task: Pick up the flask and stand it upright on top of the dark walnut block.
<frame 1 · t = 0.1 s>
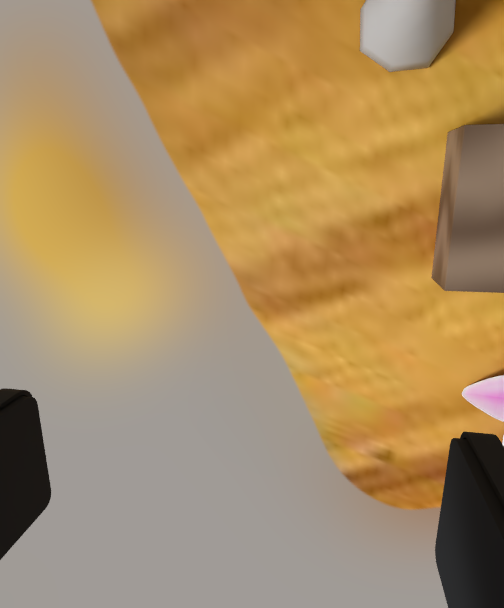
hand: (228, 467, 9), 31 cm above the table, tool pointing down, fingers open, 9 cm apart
flask: (405, 22, 33), on the table
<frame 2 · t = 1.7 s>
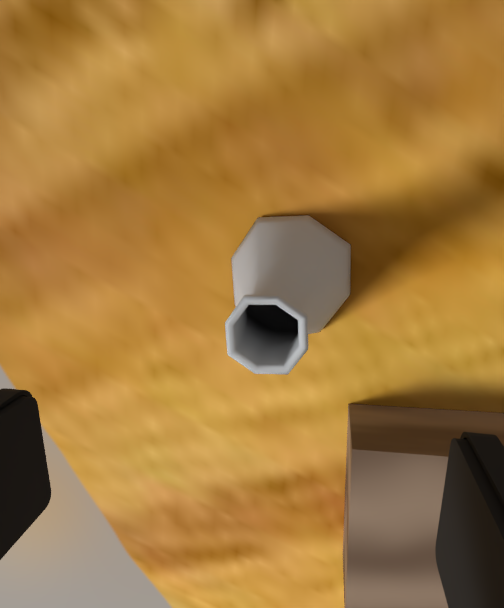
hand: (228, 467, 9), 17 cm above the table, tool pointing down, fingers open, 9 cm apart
flask: (290, 274, 25), on the table
walnut block: (439, 488, 28), on the table
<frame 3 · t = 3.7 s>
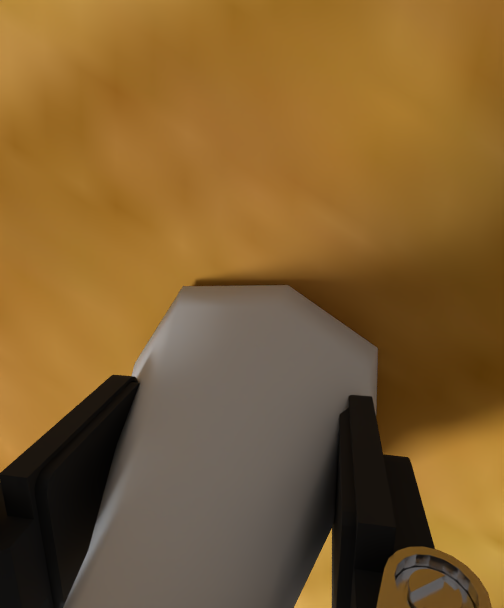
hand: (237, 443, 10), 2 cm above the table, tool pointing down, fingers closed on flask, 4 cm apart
flask: (254, 394, 13), on the table, touching gripper
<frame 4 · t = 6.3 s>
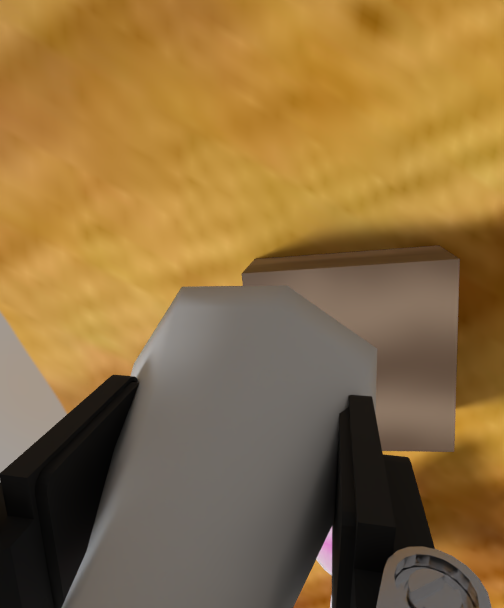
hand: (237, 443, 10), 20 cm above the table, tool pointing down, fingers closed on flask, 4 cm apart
lily: (363, 512, 34), on the table
flask: (254, 395, 13), point 18 cm above the table, touching gripper
walnut block: (346, 334, 30), on the table
when the fingers open (9 cm above the table, at t = 9.1 s): flask drops 2 cm, resting on walnut block.
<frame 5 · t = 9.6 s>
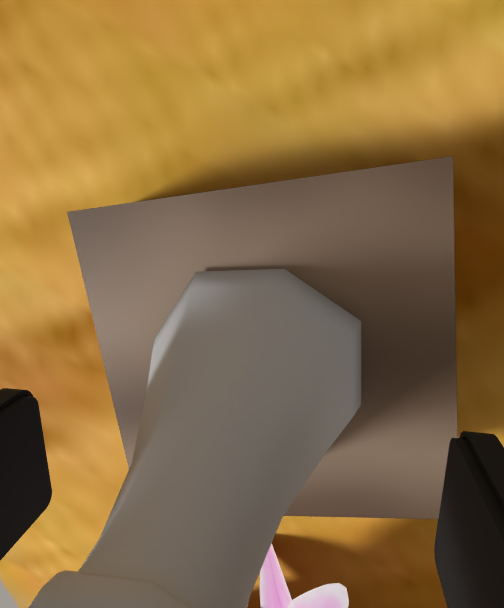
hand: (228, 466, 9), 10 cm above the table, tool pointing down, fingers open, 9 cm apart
lily: (303, 594, 23), on the table
flask: (257, 364, 15), point 4 cm above the table, touching walnut block
walnut block: (282, 322, 19), on the table, touching flask
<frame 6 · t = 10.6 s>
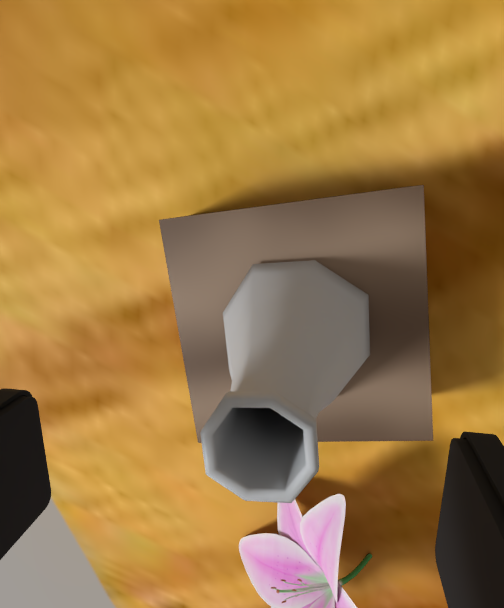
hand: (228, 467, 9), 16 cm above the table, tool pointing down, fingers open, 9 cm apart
lily: (311, 526, 29), on the table
flask: (295, 330, 21), point 4 cm above the table, touching walnut block
walnut block: (304, 304, 25), on the table, touching flask
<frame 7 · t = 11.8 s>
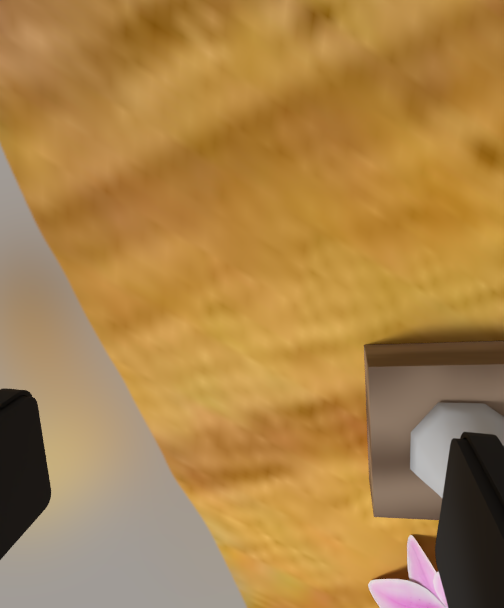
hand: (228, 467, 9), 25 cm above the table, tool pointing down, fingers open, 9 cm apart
lily: (428, 572, 37), on the table
flask: (461, 445, 29), point 4 cm above the table, touching walnut block
walnut block: (443, 411, 34), on the table, touching flask
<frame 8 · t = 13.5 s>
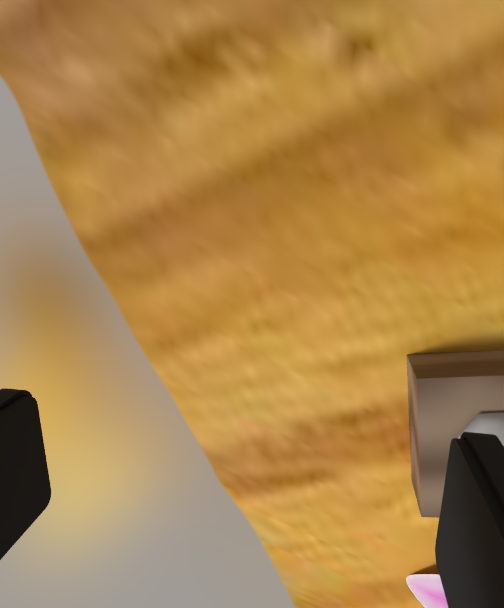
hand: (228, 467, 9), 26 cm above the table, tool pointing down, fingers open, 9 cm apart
lily: (463, 566, 40), on the table
flask: (502, 451, 31), point 4 cm above the table, touching walnut block
walnut block: (483, 415, 36), on the table, touching flask
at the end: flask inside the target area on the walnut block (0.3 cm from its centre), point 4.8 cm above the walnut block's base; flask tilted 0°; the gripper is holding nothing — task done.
